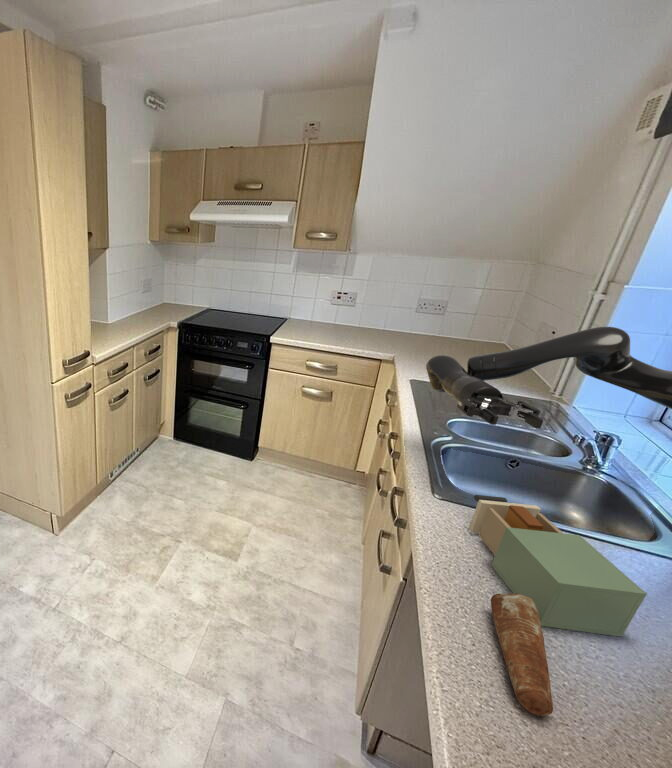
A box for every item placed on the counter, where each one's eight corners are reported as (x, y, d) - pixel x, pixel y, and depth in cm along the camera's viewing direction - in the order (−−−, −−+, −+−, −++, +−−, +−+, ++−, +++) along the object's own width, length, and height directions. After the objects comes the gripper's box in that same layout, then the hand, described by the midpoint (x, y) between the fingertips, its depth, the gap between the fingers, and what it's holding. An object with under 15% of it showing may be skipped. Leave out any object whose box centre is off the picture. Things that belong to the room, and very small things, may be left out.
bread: (530, 624, 71) (542, 599, 69) (554, 729, 56) (570, 702, 54) (485, 606, 74) (495, 582, 72) (496, 701, 59) (509, 675, 57)
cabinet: (491, 565, 83) (506, 527, 80) (560, 574, 81) (579, 535, 78) (538, 625, 70) (558, 582, 67) (622, 637, 69) (647, 593, 65)
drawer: (455, 512, 97) (465, 484, 94) (508, 518, 96) (519, 490, 93) (503, 571, 80) (516, 539, 78) (568, 579, 79) (584, 547, 76)
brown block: (511, 537, 88) (523, 506, 85) (529, 558, 82) (543, 526, 80) (497, 535, 88) (509, 505, 86) (515, 556, 83) (528, 524, 80)
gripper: (447, 378, 102) (486, 403, 87) (511, 382, 100) (561, 409, 85) (440, 406, 105) (476, 435, 90) (501, 410, 103) (548, 441, 88)
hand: (517, 422), depth 87 cm, fingers open, 8 cm apart
